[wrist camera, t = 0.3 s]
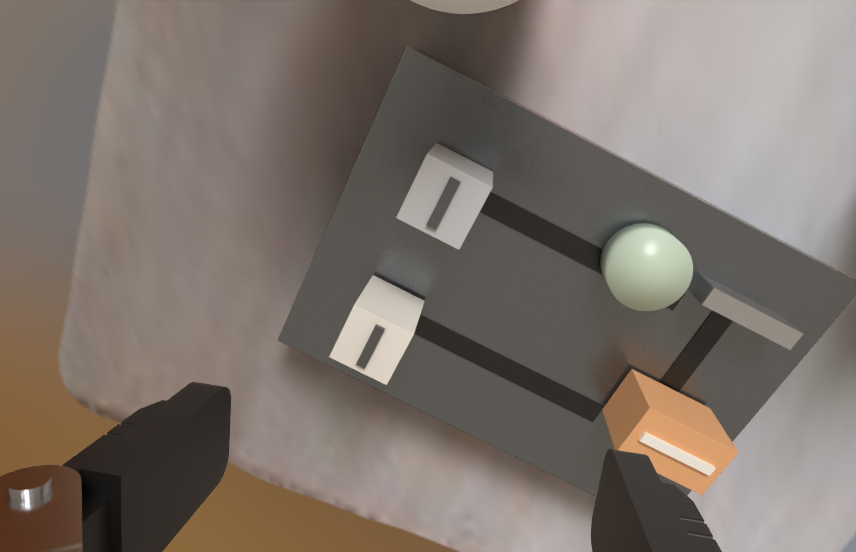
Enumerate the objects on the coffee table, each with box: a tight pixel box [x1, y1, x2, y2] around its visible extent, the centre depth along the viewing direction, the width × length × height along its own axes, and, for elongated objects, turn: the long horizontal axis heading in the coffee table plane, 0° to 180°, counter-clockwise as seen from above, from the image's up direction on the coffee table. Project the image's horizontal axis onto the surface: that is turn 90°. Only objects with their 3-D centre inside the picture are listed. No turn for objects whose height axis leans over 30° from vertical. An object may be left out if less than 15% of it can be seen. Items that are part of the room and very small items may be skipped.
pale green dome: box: [600, 223, 693, 311], centre depth 29 cm, size 4×4×2 cm
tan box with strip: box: [602, 369, 738, 495], centre depth 30 cm, size 3×5×4 cm, turn 64°
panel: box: [278, 47, 856, 496], centre depth 32 cm, size 18×26×6 cm
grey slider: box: [396, 143, 493, 250], centre depth 27 cm, size 3×3×5 cm
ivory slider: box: [329, 275, 424, 385], centre depth 30 cm, size 3×3×5 cm
